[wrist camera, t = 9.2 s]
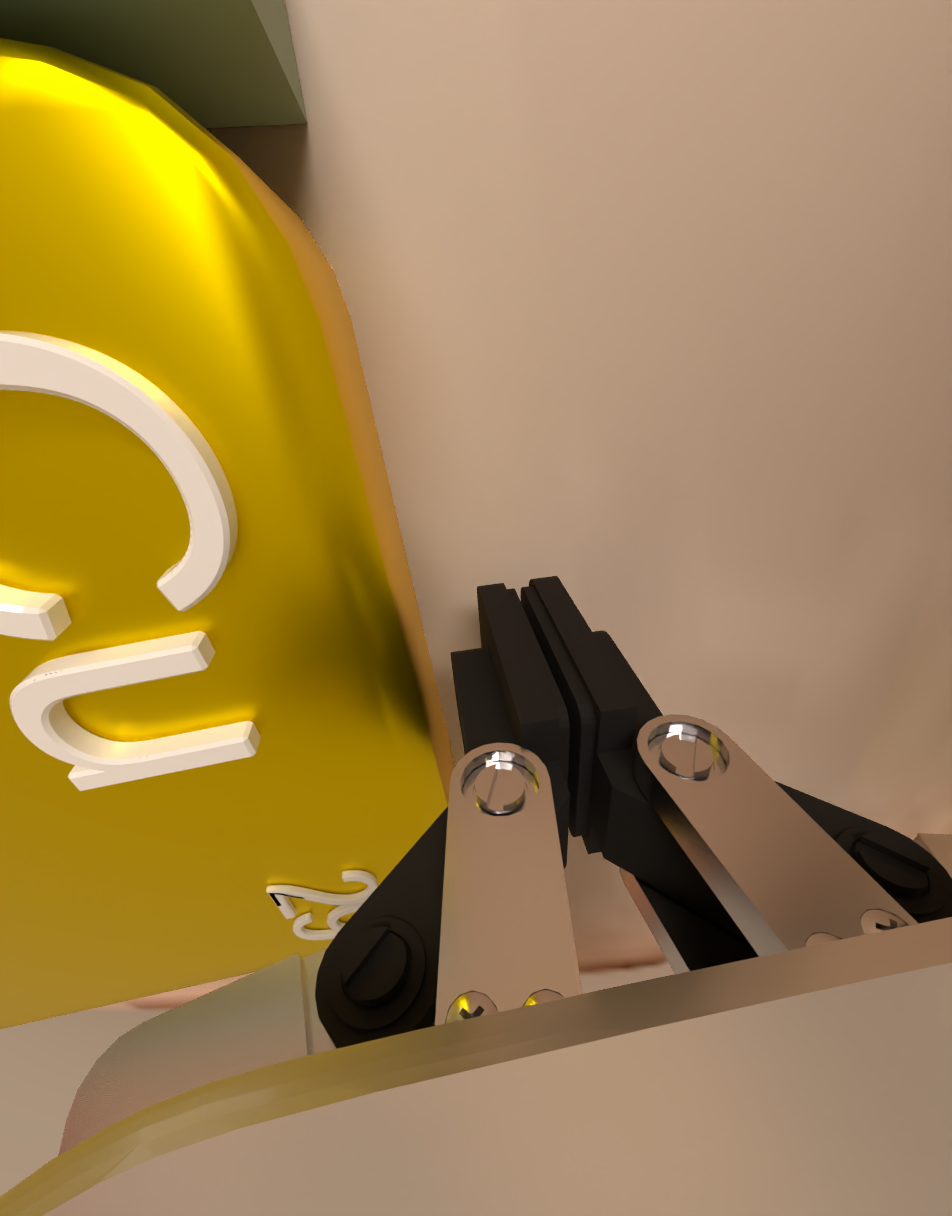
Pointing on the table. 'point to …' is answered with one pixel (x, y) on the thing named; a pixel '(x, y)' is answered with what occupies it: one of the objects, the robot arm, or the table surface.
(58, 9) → the corner stop
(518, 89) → the table surface
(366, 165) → the table surface
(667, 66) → the table surface
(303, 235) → the element tile
